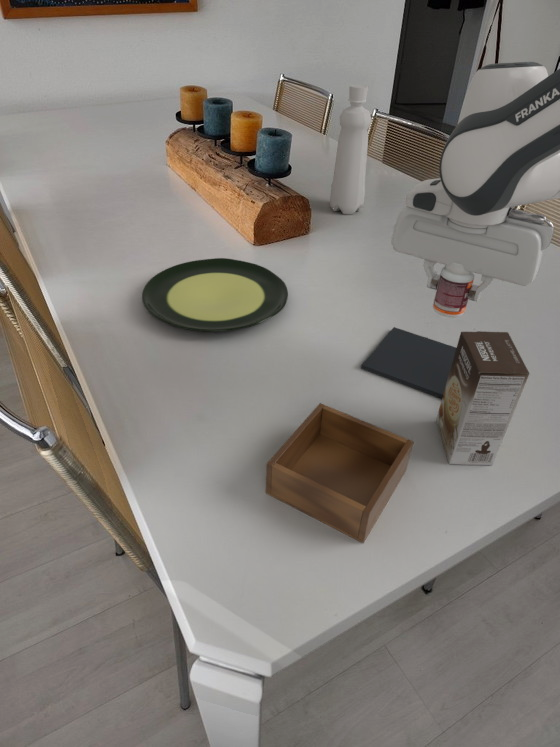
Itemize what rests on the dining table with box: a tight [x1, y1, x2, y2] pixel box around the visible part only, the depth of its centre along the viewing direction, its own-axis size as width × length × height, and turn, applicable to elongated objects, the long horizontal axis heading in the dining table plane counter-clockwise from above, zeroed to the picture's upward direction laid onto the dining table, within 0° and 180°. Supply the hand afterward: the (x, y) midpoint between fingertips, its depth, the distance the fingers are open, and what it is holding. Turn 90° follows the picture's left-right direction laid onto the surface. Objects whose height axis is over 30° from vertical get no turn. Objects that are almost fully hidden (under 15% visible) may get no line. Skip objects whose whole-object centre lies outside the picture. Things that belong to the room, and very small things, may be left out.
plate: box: [141, 257, 289, 332], centre depth 105 cm, size 28×28×2 cm
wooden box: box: [265, 402, 414, 544], centre depth 69 cm, size 14×14×5 cm
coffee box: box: [435, 330, 531, 466], centre depth 72 cm, size 9×6×16 cm
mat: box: [360, 326, 457, 399], centre depth 91 cm, size 20×14×1 cm
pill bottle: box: [432, 263, 475, 318], centre depth 79 cm, size 5×5×8 cm
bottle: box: [329, 83, 373, 215], centre depth 138 cm, size 9×9×30 cm
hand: (452, 292), depth 80 cm, fingers closed on pill bottle, 5 cm apart
